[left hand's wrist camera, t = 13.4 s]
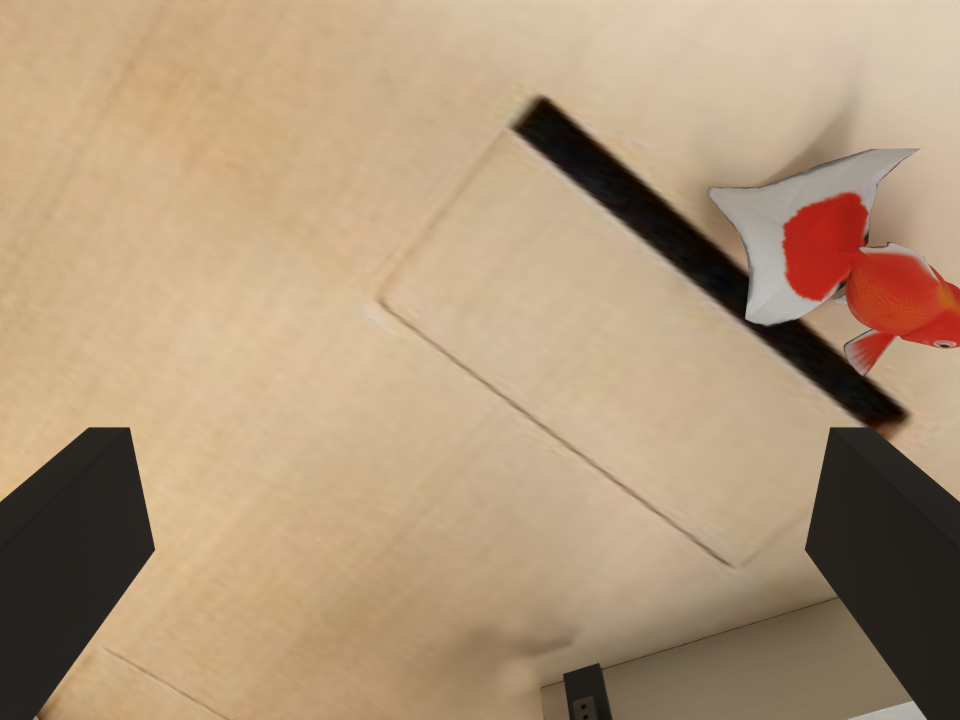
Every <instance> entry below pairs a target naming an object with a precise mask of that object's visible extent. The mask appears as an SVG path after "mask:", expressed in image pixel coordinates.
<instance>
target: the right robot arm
mask: <svg viewBox="0 0 960 720" xmlns="http://www.w3.org/2000/svg"><path fill="white" fill-rule="evenodd" d="M563 677H564V684H565V691H566V697H567V704H568V711H569V718H570V720H613V719H612V714H611V710H610V705H609V700H608V695H607V691H606V686H605V681H604V677H603V672H602V669H601V667H600V665H599V663H598V664H594V665H591V666H588V667H585V668H581V669H578V670H575V671H572V672H568V673H565V674H563Z"/></svg>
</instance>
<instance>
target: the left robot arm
mask: <svg viewBox="0 0 960 720" xmlns="http://www.w3.org/2000/svg"><path fill="white" fill-rule="evenodd" d="M154 551H155V547H154V542H153V537H152V532H151V528H150V523H149V518H148V513H147V508H146V504H145V499H144V494H143V489H142V484H141V480H140V475H139V470H138V465H137V460H136V456H135V451H134V446H133V441H132V436H131V432H130V427H89V428H88V429H86V430H85V431H84V432H83V433H82V434H80V435H79V436H78V437H77V438H76V439H74V440H73V441H72V442H71V443H70V444H69V445H67V446H66V447H65V448H64V449H63V450H61V451H60V452H59V453H58V454H57V455H56V456H54V457H53V458H52V459H51V460H50V461H48V462H47V463H46V464H45V465H44V466H42V467H41V468H40V469H39V470H38V471H37V472H35V473H34V474H33V475H32V476H31V477H29V478H28V479H27V480H26V481H25V482H23V483H22V484H21V485H20V486H19V487H18V488H16V489H15V490H14V491H13V492H12V493H10V494H9V495H8V496H7V497H6V498H4V499H3V500H2V501H1V502H0V720H33V719H34V718H35V716H36V715H37V714H38V712H39V711H40V709H41V708H42V707H43V705H44V704H45V702H46V701H47V700H48V698H49V697H50V695H51V694H52V693H53V691H54V690H55V688H56V687H57V686H58V684H59V683H60V682H61V680H62V679H63V677H64V676H65V675H66V673H67V672H68V670H69V669H70V668H71V666H72V665H73V663H74V662H75V661H76V659H77V658H78V656H79V655H80V654H81V652H82V651H83V650H84V648H85V647H86V645H87V644H88V643H89V641H90V640H91V638H92V637H93V636H94V634H95V633H96V631H97V630H98V629H99V627H100V626H101V624H102V623H103V622H104V620H105V619H106V618H107V616H108V615H109V613H110V612H111V611H112V609H113V608H114V606H115V605H116V604H117V602H118V601H119V599H120V598H121V597H122V595H123V594H124V592H125V591H126V590H127V588H128V587H129V586H130V584H131V583H132V581H133V580H134V579H135V577H136V576H137V574H138V573H139V572H140V570H141V569H142V567H143V566H144V565H145V563H146V562H147V560H148V559H149V558H150V556H151V555H152V554H153V552H154ZM805 551H806V552H807V554H808V555H809V556H810V558H811V559H812V560H813V562H814V563H815V565H816V566H817V567H818V569H819V570H820V572H821V573H822V574H823V576H824V577H825V579H826V580H827V581H828V583H829V584H830V586H831V587H832V588H833V590H834V591H835V592H836V594H837V595H838V597H839V598H840V599H841V601H842V602H843V604H844V605H845V606H846V608H847V609H848V611H849V612H850V613H851V615H852V616H853V618H854V619H855V620H856V622H857V623H858V624H859V626H860V627H861V629H862V630H863V631H864V633H865V634H866V636H867V637H868V638H869V640H870V641H871V643H872V644H873V645H874V647H875V648H876V650H877V651H878V652H879V654H880V655H881V656H882V658H883V659H884V661H885V662H886V663H887V665H888V666H889V668H890V669H891V670H892V672H893V673H894V675H895V676H896V677H897V679H898V680H899V682H900V683H901V684H902V686H903V687H904V689H905V690H906V691H907V693H908V694H909V695H910V697H911V698H912V700H913V701H914V702H915V704H916V705H917V707H918V708H919V709H920V711H921V712H922V714H923V715H924V716H925V718H926V719H927V720H960V502H959V501H958V500H957V499H956V498H954V497H953V496H952V495H951V494H950V493H948V492H947V491H946V490H945V489H944V488H942V487H941V486H940V485H939V484H938V483H937V482H935V481H934V480H933V479H932V478H931V477H929V476H928V475H927V474H926V473H925V472H923V471H922V470H921V469H920V468H919V467H918V466H916V465H915V464H914V463H913V462H912V461H910V460H909V459H908V458H907V457H906V456H904V455H903V454H902V453H901V452H900V451H899V450H897V449H896V448H895V447H894V446H893V445H891V444H890V443H889V442H888V441H887V440H886V439H884V438H883V437H882V436H881V435H880V434H878V433H877V432H876V431H875V430H874V429H872V428H871V427H830V432H829V436H828V441H827V446H826V451H825V456H824V460H823V465H822V470H821V475H820V480H819V484H818V489H817V494H816V499H815V504H814V508H813V513H812V518H811V523H810V528H809V532H808V537H807V542H806V547H805Z"/></svg>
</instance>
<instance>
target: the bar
mask: <svg viewBox="0 0 960 720" xmlns="http://www.w3.org/2000/svg"><path fill="white" fill-rule="evenodd" d="M602 672H603V677H604V681H605V686H606V691H607V695H608V700H609V705H610V710H611V714H612V719H613V720H927V719H926V718H925V716H924V715H923V714H922V712H921V711H920V709H919V708H918V707H917V705H916V704H915V702H914V701H913V700H912V698H911V697H910V695H909V694H908V693H907V691H906V690H905V689H904V687H903V686H902V684H901V683H900V682H899V680H898V679H897V677H896V676H895V675H894V673H893V672H892V670H891V669H890V668H889V666H888V665H887V663H886V662H885V661H884V659H883V658H882V656H881V655H880V654H879V652H878V651H877V650H876V648H875V647H874V645H873V644H872V643H871V641H870V640H869V638H868V637H867V636H866V634H865V633H864V631H863V630H862V629H861V627H860V626H859V624H858V623H857V622H856V620H855V619H854V618H853V616H852V615H851V613H850V612H849V611H848V609H847V608H846V606H845V605H844V604H843V602H842V601H841V599H840V598H836V599H833V600H830V601H826V602H823V603H820V604H817V605H813V606H810V607H807V608H803V609H800V610H797V611H793V612H790V613H787V614H784V615H780V616H777V617H774V618H770V619H767V620H764V621H761V622H757V623H754V624H751V625H747V626H744V627H741V628H737V629H734V630H731V631H728V632H724V633H721V634H718V635H714V636H711V637H708V638H705V639H701V640H698V641H695V642H691V643H688V644H685V645H682V646H678V647H675V648H672V649H668V650H665V651H662V652H658V653H655V654H652V655H649V656H645V657H642V658H639V659H635V660H632V661H629V662H626V663H622V664H619V665H616V666H612V667H609V668H606V669H603V670H602ZM541 697H542V707H543V717H544V720H570V718H569V711H568V704H567V697H566V691H565V684H564V681H563V682H560V683H556V684H553V685H550V686H547V687H543V688H541Z"/></svg>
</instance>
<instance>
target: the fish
mask: <svg viewBox="0 0 960 720" xmlns="http://www.w3.org/2000/svg"><path fill="white" fill-rule="evenodd" d="M918 150H920V149H870V150H867V151H863V152H860V153H857V154H854V155H850V156H847V157H844V158H841V159H837V160H834V161H831V162H828V163H824V164H821V165H818V166H816V167H813V168H811V169H808V170H806V171H803V172H801V173H798V174H796V175H793V176H790V177H788V178H785V179H782V180H779V181H777V182H774V183H771V184H768V185H765V186H762V187H759V188H720V187H709V189H708V191H707V195H708V196H709V198H710V199H711V200H712V201H713V202H714V204H715V205H716V206H717V207H718V208H719V209H720V210H721V211H722V213H723V214H724V215H725V216H726V218H727V219H728V220H729V221H730V223H731V224H732V225H733V226H734V228H735V229H736V230H737V231H738V233H739V234H740V235H741V238H742V241H743V244H744V247H745V250H746V253H747V257H748V269H749V290H748V300H747V309H746V318H745V319H746V320H749V321H751V322H754V323H756V324H758V325H761V326H763V327H766V328H767V327H771V326H774V325H778V324H782V323H786V322H790V321H794V320H796V319H797V318H799V317H801V316H803V315H805V314H807V313H809V312H810V311H812V310H813V309H815V308H816V307H817V306H819V305H820V304H822V303H823V302H824V301H825V300H827V299H828V298H829V297H831V296H832V295H833V294H835V293H836V292H837V291H838V290H840V289H841V288H842V287H844V286H845V285H846V294H844V295H842V296H840V297H838V298H836V299H835V300H834V303H836V304H843V305H848V307H849V309H850V311H851V312H852V314H853V316H854V317H855V318H856V319H857V320H858V321H859V322H861V323H862V324H864V325H866V326H868V327H869V328H872V329H871V330H869V331H867V332H865V333H863V334H861V335H860V336H858V337H856V338H854V339H853V340H851V341H849V342H847V343H846V344H845V345H844V352H845V355H846V357H847V360H848V362H849V363H850V364H851V365H852V366H853V368H854V369H855V370H856V371H857V372H858V373H859V374H860V375H861V376H862V377H864V375H865V374H866V373H867V372H869V370H870V369H871V368H872V367H873V366H874V364H875V363H876V361H877V360H878V359H879V357H880V356H881V355H882V354H883V352H884V351H885V349H886V348H887V347H888V346H889V345H890V343H891V342H892V341H893V340H894V339H895V338H896V336H897V335H898V336H900V337H901V338H902V339H904V340H907V341H912V342H917V343H921V344H926V345H930V346H933V347H938V348H955V347H960V289H959V288H958V287H956V286H955V285H953V284H950V283H948V282H946V281H944V279H943V278H942V277H941V276H940V275H939V273H938V272H937V271H936V270H935V269H934V268H933V267H932V266H930V265H929V264H928V263H927V261H926V260H925V258H924V257H923V256H921V255H920V254H918V253H916V252H915V251H913V250H911V249H908V248H905V247H903V246H900V245H897V244H894V243H891V242H887V246H878V247H865V246H866V245H867V243H868V237H869V219H870V212H871V209H872V205H873V202H874V199H875V194H876V189H877V185H878V182H880V181H881V180H882V179H883V178H884V177H885V176H886V175H887V174H888V173H889V172H890V171H891V170H893V169H894V168H895V167H896V166H897V165H898V164H899V163H900V162H901V161H902V160H904V159H905V158H907V157H909V156H910V155H912V154H913V153H915V152H916V151H918Z"/></svg>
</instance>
